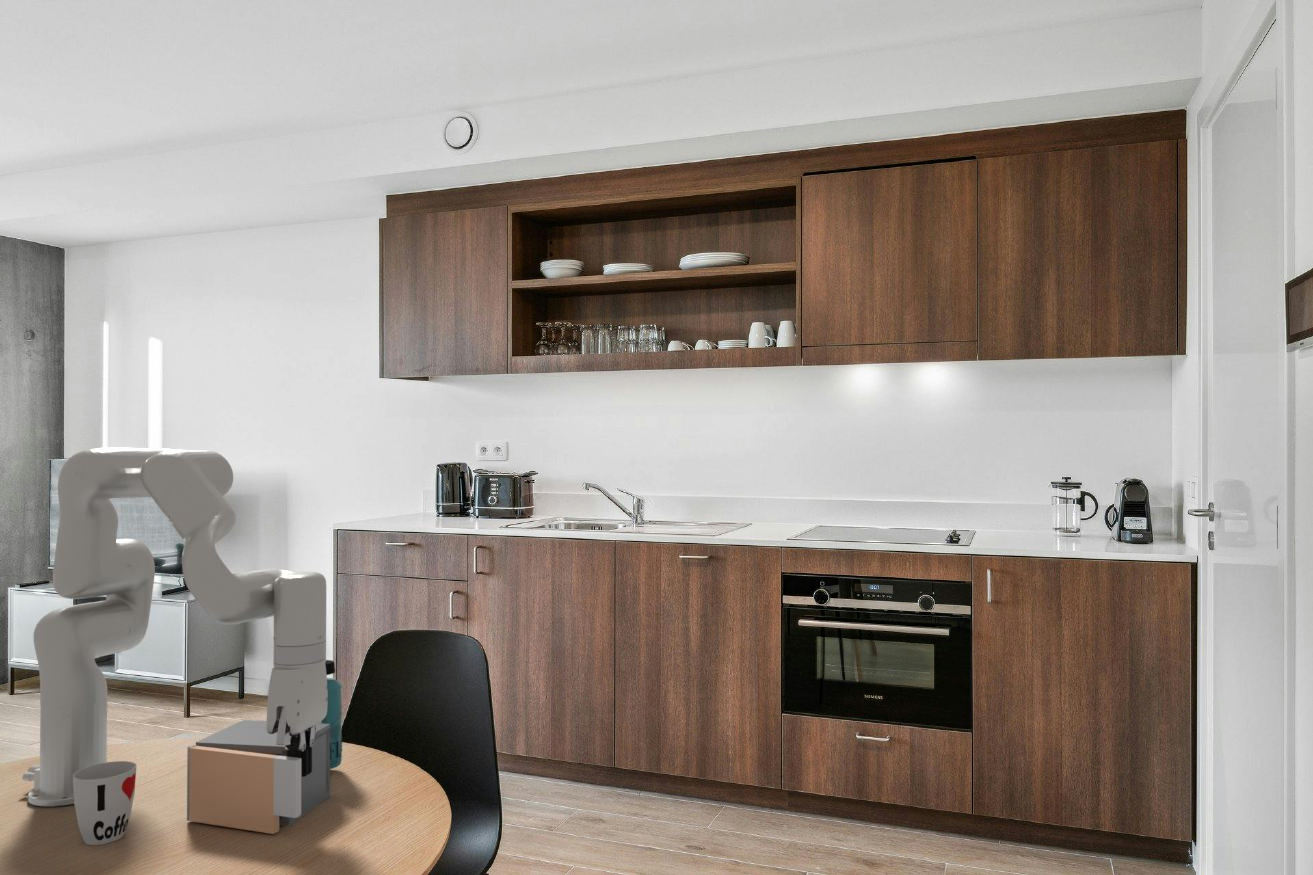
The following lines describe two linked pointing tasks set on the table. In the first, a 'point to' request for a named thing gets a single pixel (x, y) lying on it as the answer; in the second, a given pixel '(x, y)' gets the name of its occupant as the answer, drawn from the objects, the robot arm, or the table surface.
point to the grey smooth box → (260, 741)
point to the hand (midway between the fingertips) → (299, 774)
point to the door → (242, 788)
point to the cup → (104, 800)
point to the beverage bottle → (334, 715)
